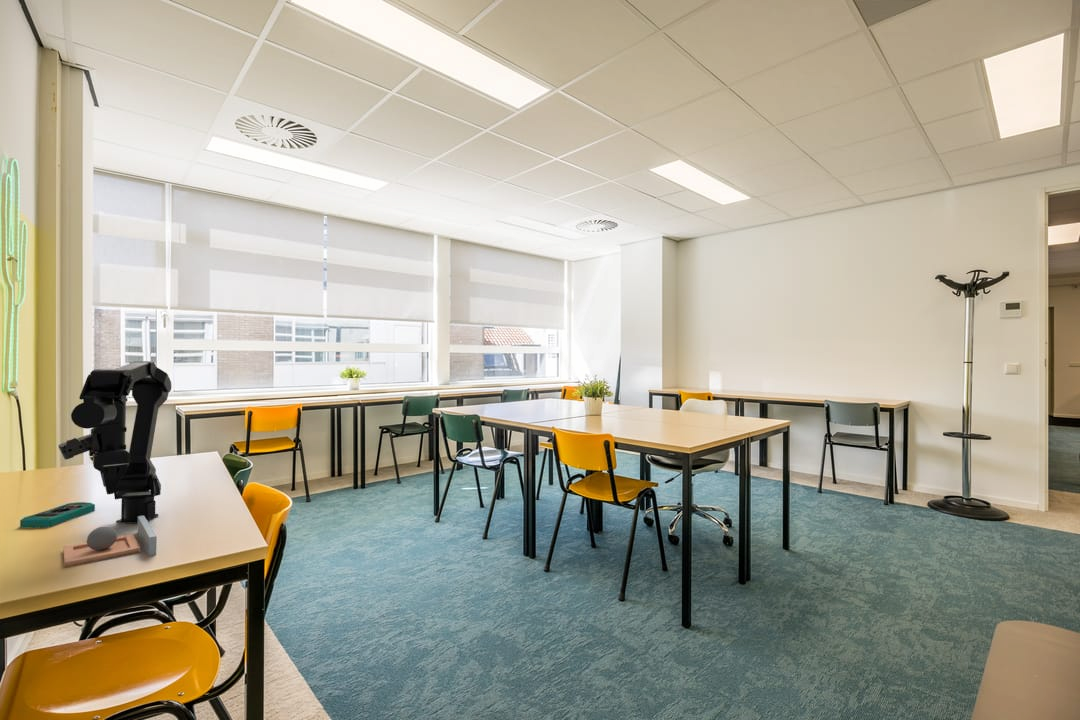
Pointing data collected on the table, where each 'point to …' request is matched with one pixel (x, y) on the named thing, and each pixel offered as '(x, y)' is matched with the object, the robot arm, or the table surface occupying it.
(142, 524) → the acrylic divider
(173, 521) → the table surface
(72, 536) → the table surface
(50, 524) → the digital multimeter
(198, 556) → the table surface
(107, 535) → the rubber ball
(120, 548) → the pad
